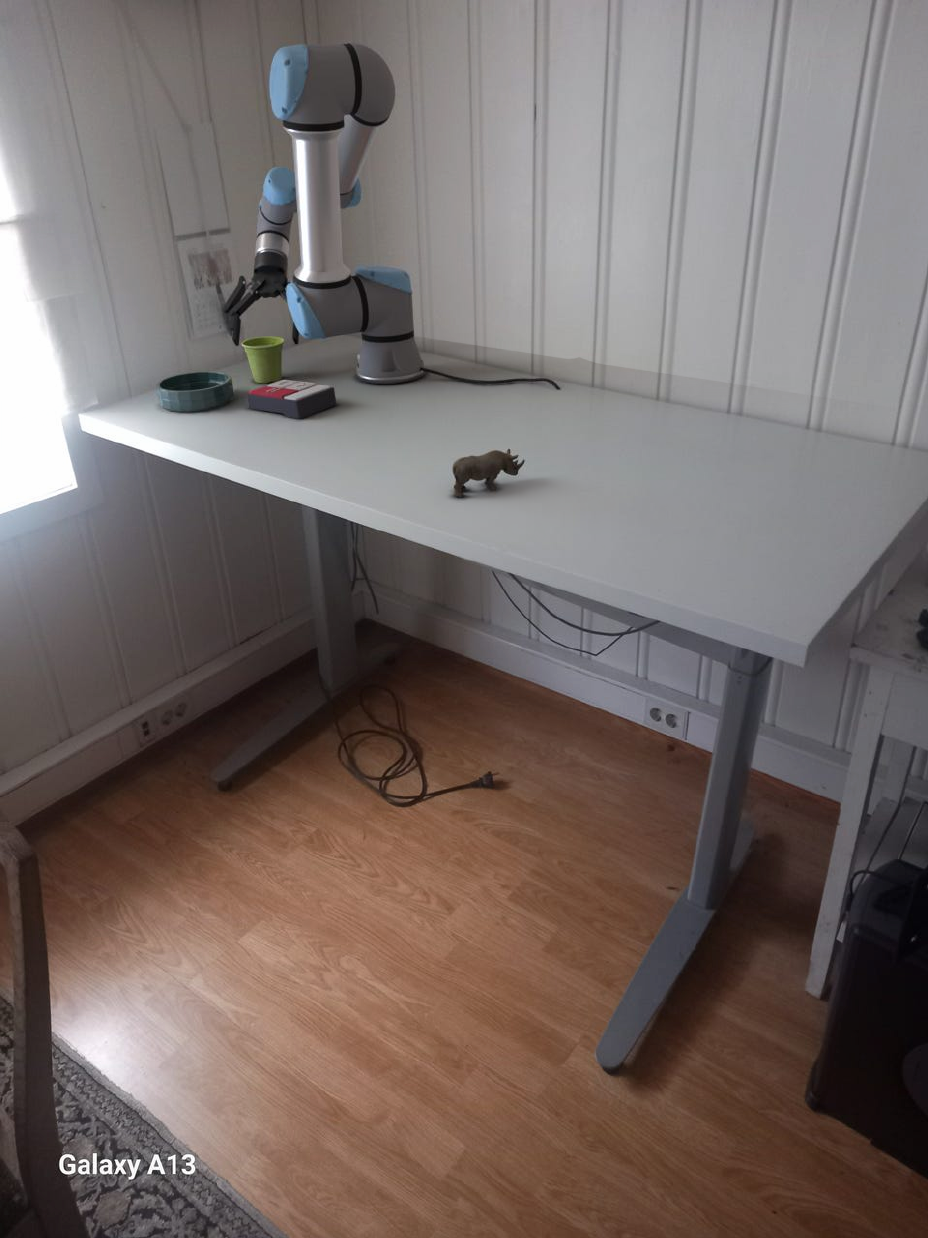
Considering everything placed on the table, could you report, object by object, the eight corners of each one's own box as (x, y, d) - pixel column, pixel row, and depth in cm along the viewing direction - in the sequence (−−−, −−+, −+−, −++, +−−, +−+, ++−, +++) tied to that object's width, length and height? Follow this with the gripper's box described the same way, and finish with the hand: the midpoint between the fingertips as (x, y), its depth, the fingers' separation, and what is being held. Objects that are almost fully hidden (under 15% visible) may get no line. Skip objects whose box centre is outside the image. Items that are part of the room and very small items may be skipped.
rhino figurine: (532, 481, 157) (532, 446, 155) (458, 500, 152) (456, 463, 149) (519, 474, 161) (518, 439, 158) (446, 491, 155) (444, 456, 152)
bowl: (249, 398, 206) (246, 377, 204) (191, 417, 196) (187, 395, 193) (203, 387, 214) (200, 367, 212) (145, 405, 204) (141, 384, 202)
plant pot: (296, 375, 220) (291, 337, 216) (276, 387, 213) (271, 347, 208) (260, 373, 223) (255, 335, 219) (239, 384, 215) (233, 345, 211)
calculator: (283, 377, 205) (334, 383, 197) (286, 397, 207) (337, 404, 199) (244, 390, 198) (296, 397, 189) (248, 411, 200) (299, 418, 191)
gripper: (328, 268, 224) (323, 349, 219) (223, 271, 226) (216, 352, 220) (321, 247, 217) (316, 331, 211) (213, 251, 219) (205, 334, 213)
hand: (265, 341), depth 216 cm, fingers open, 13 cm apart
